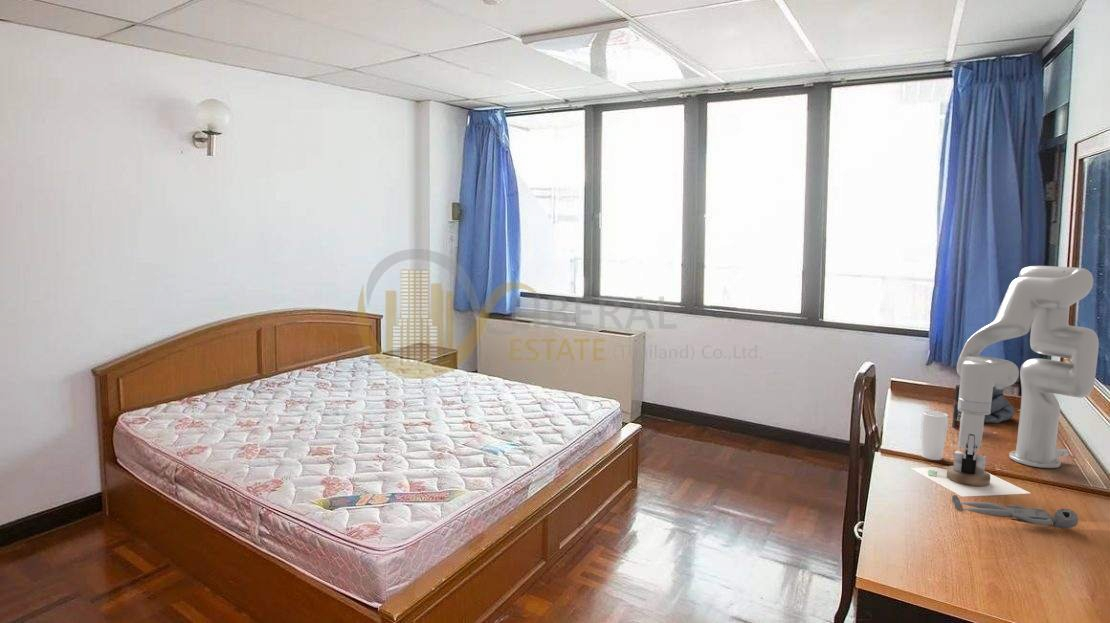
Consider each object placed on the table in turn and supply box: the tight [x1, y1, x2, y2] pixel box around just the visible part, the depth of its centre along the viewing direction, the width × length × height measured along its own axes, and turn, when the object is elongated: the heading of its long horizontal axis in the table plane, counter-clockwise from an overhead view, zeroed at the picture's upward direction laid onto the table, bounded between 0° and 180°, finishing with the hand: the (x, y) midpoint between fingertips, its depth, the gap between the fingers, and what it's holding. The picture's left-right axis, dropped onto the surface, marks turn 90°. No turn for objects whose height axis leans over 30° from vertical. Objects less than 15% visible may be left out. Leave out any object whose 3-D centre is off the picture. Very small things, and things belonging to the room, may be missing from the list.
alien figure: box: [951, 494, 1079, 530], centre depth 155 cm, size 8×5×25 cm
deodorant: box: [951, 384, 962, 430], centre depth 227 cm, size 6×6×15 cm
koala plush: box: [952, 387, 1015, 424], centre depth 240 cm, size 17×18×20 cm
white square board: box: [909, 465, 1032, 498], centre depth 176 cm, size 20×20×2 cm
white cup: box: [920, 410, 949, 461], centre depth 193 cm, size 7×7×15 cm
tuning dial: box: [930, 450, 991, 486], centre depth 177 cm, size 14×10×7 cm
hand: (968, 470), depth 176 cm, fingers closed on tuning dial, 2 cm apart
